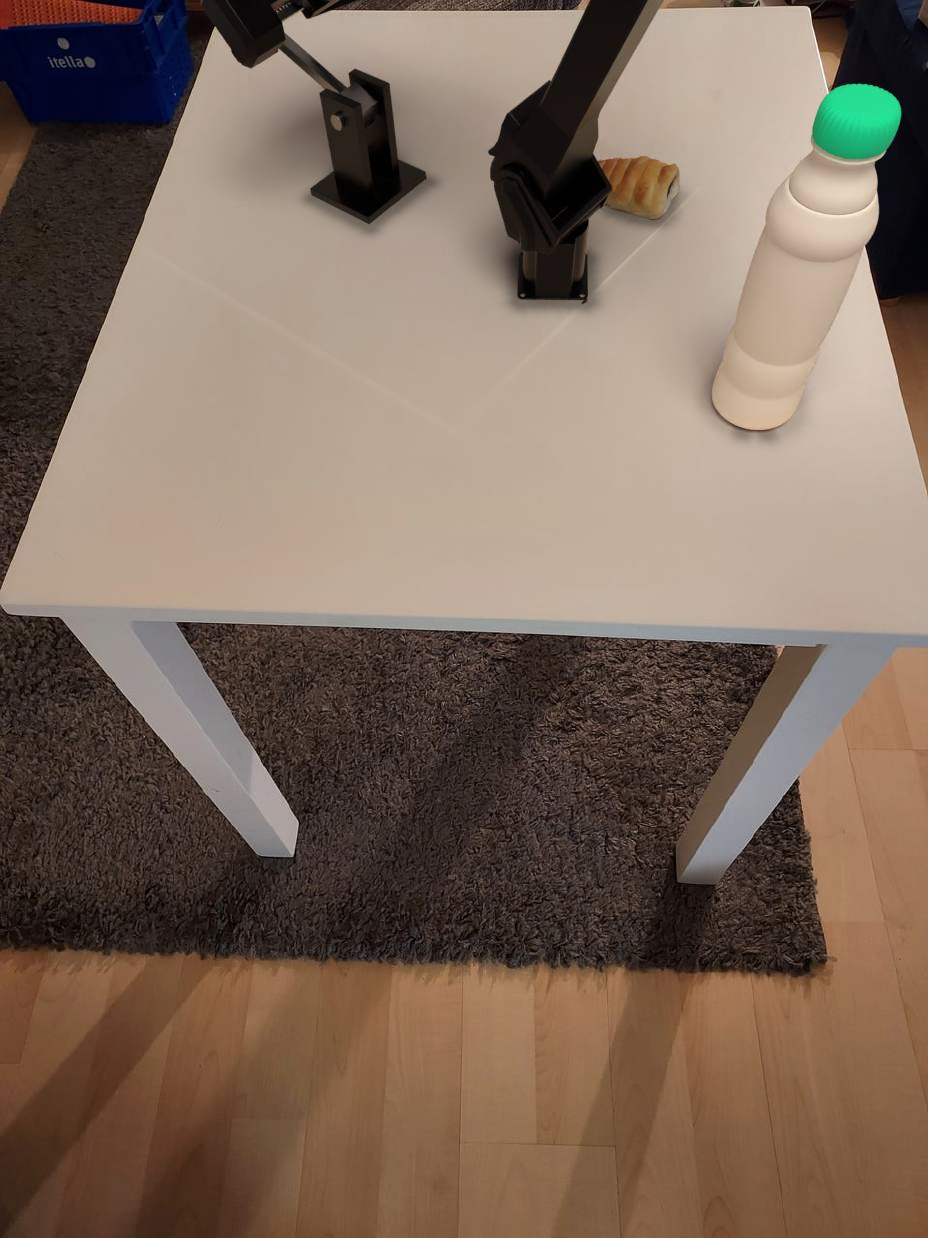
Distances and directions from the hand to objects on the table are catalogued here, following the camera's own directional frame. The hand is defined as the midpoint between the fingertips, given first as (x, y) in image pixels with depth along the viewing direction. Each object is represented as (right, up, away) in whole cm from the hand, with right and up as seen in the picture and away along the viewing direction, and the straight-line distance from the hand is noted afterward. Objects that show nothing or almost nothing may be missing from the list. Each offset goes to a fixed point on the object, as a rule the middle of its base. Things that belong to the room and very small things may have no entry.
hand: (270, 34), depth 80 cm
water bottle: (+43, -37, -9) cm, 57 cm away
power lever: (+4, -4, +1) cm, 5 cm away
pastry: (+35, -13, +5) cm, 38 cm away
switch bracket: (+9, -11, +7) cm, 16 cm away
